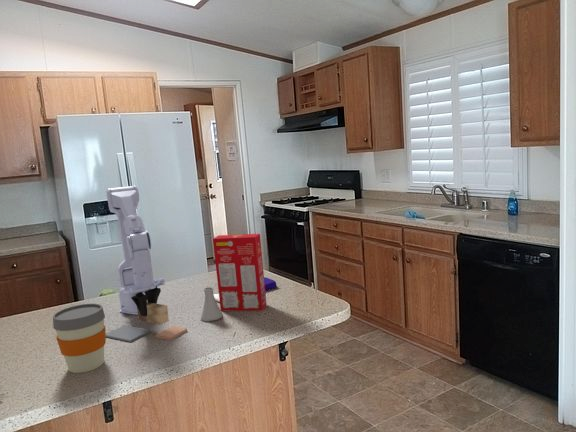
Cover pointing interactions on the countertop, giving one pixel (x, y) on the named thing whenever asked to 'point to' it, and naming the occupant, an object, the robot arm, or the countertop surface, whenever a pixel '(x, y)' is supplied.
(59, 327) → the reusable coffee cup
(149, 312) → the tall tan prism
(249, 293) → the food packaging
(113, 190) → the robot arm
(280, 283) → the countertop surface
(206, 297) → the flask
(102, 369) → the countertop surface
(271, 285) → the spray bottle
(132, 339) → the plate
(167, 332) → the tile
